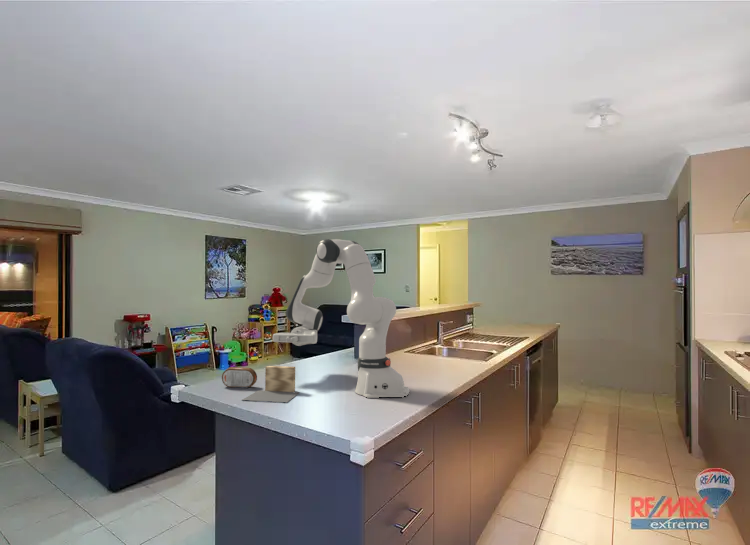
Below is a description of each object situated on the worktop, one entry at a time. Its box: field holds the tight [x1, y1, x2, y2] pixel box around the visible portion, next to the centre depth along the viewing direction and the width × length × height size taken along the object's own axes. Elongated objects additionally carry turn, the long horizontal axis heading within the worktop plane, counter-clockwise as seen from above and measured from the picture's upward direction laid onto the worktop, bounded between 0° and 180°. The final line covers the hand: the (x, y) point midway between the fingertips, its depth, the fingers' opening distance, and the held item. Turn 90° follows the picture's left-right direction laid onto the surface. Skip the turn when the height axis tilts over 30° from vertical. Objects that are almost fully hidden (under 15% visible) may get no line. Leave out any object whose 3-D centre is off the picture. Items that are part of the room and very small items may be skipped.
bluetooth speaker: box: [221, 366, 258, 388], centre depth 160 cm, size 15×3×8 cm, turn 84°
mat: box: [242, 389, 300, 404], centre depth 146 cm, size 18×13×1 cm
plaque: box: [264, 365, 296, 392], centre depth 155 cm, size 12×3×10 cm, turn 81°
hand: (288, 340), depth 164 cm, fingers closed
